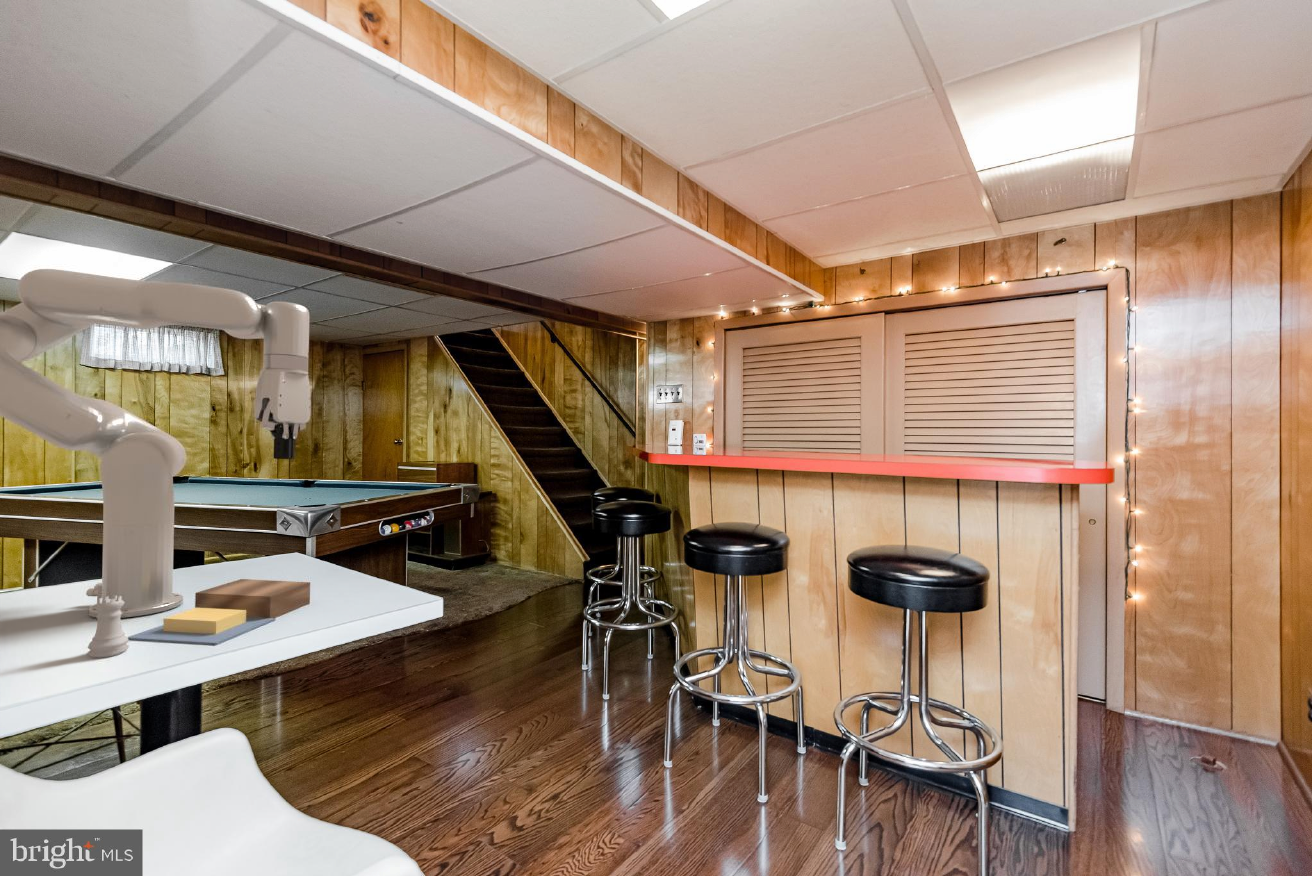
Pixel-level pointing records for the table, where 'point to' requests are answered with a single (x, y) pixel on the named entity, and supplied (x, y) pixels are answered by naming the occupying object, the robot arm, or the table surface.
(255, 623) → the mat
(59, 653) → the table surface
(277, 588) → the wooden block
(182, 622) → the yellow kitchen sponge
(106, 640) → the rook chess piece
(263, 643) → the table surface
